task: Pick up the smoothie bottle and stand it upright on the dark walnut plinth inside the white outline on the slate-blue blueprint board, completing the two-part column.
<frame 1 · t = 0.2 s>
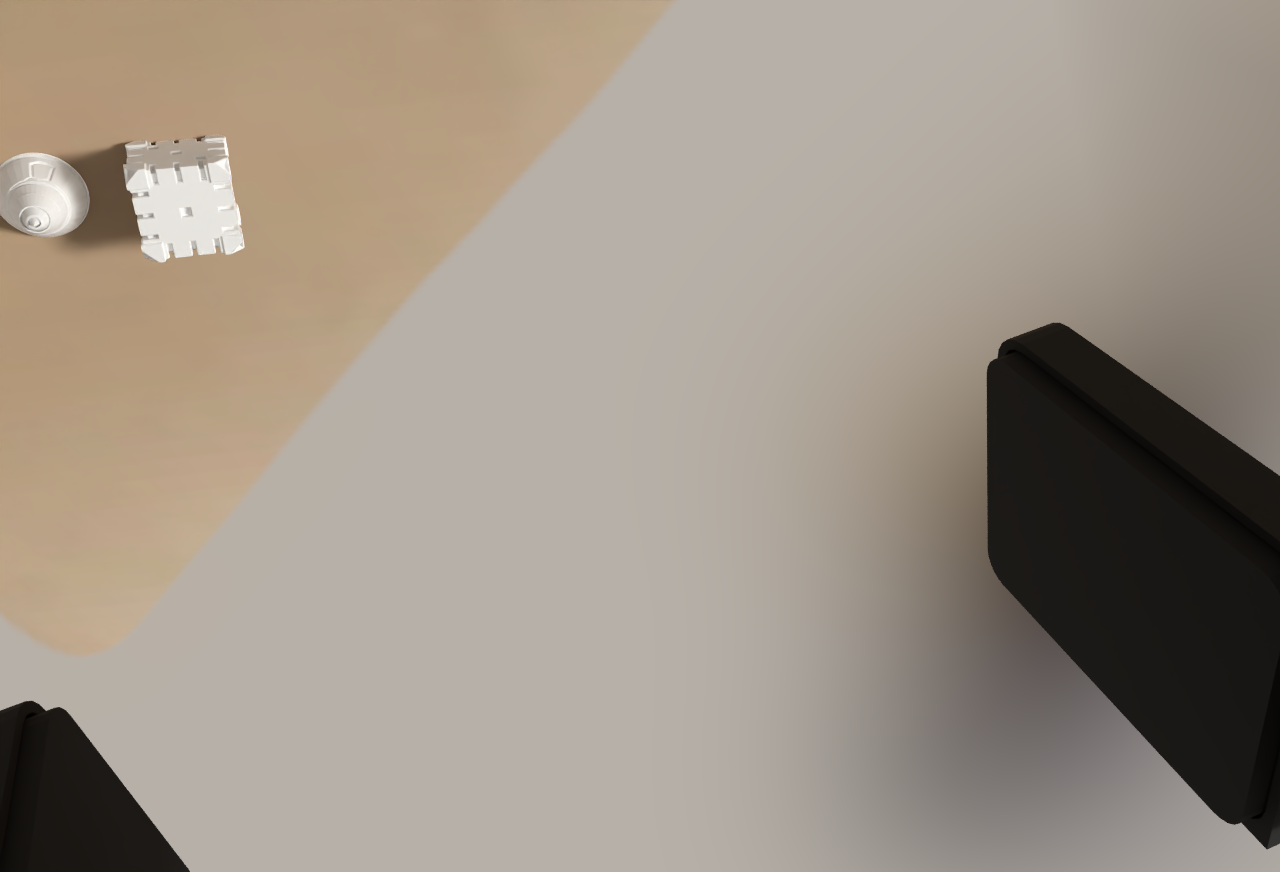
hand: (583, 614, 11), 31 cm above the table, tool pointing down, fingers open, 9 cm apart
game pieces: (42, 191, 37), on the table
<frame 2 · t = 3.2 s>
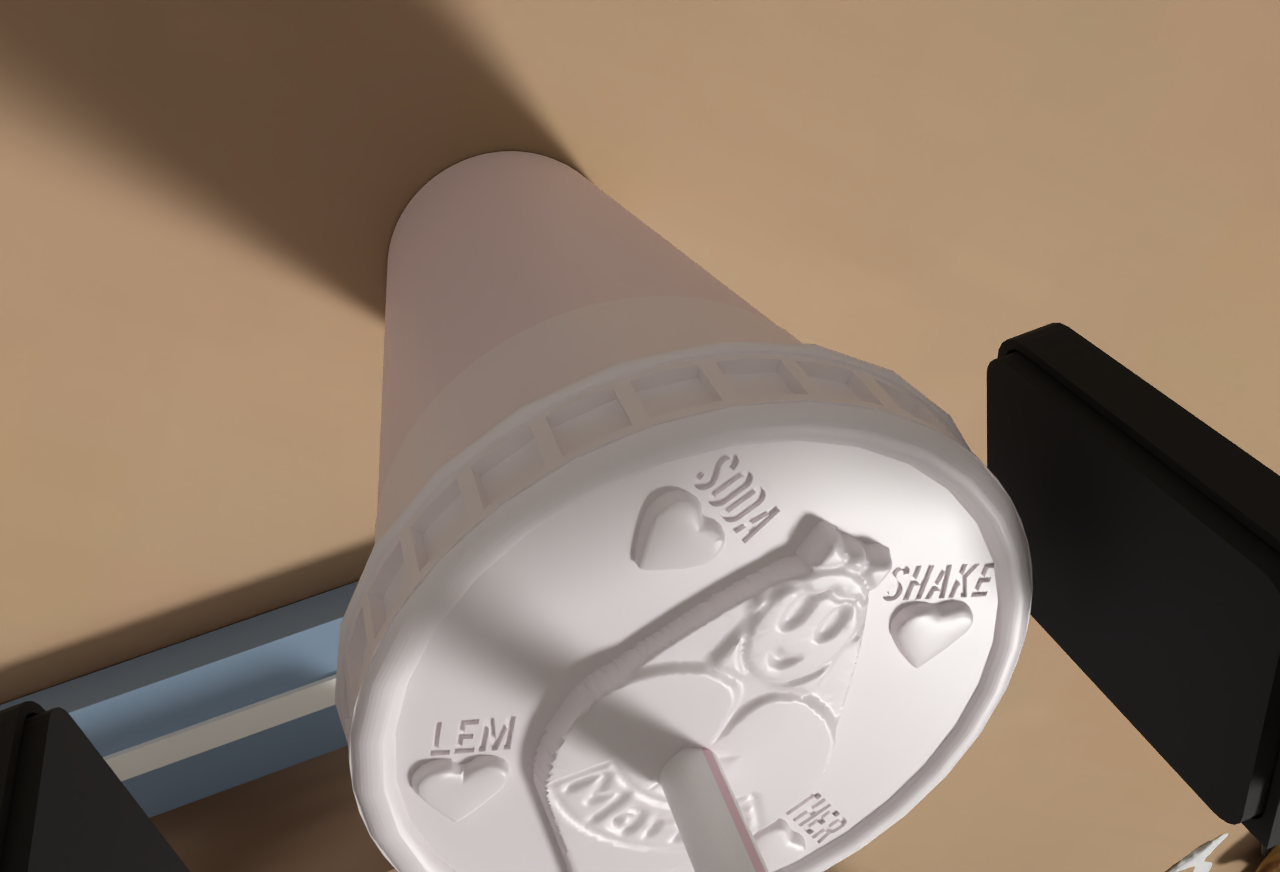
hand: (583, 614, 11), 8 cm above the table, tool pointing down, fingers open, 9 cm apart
smoothie: (504, 260, 18), on the table
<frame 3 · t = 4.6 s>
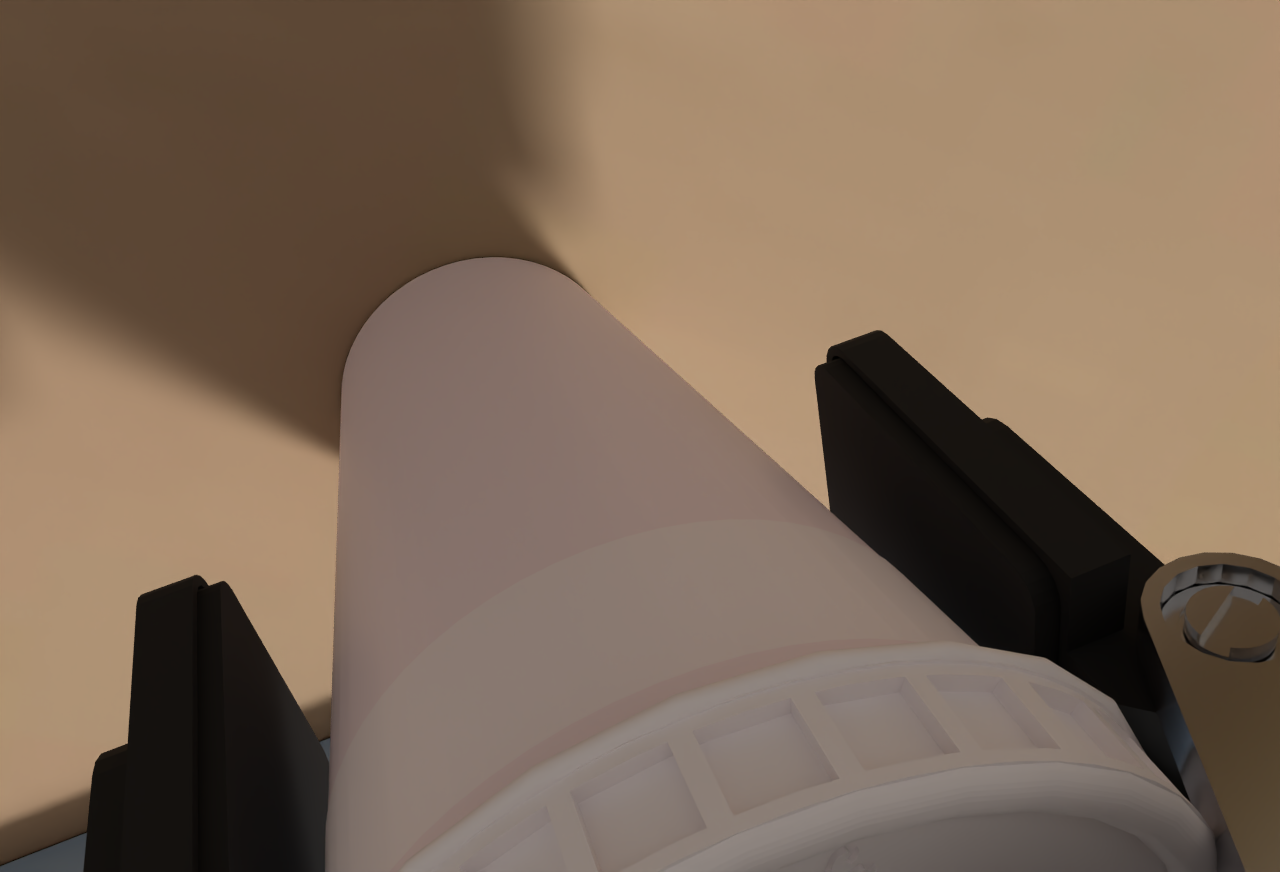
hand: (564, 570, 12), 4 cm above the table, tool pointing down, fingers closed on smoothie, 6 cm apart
smoothie: (482, 379, 15), on the table, touching gripper
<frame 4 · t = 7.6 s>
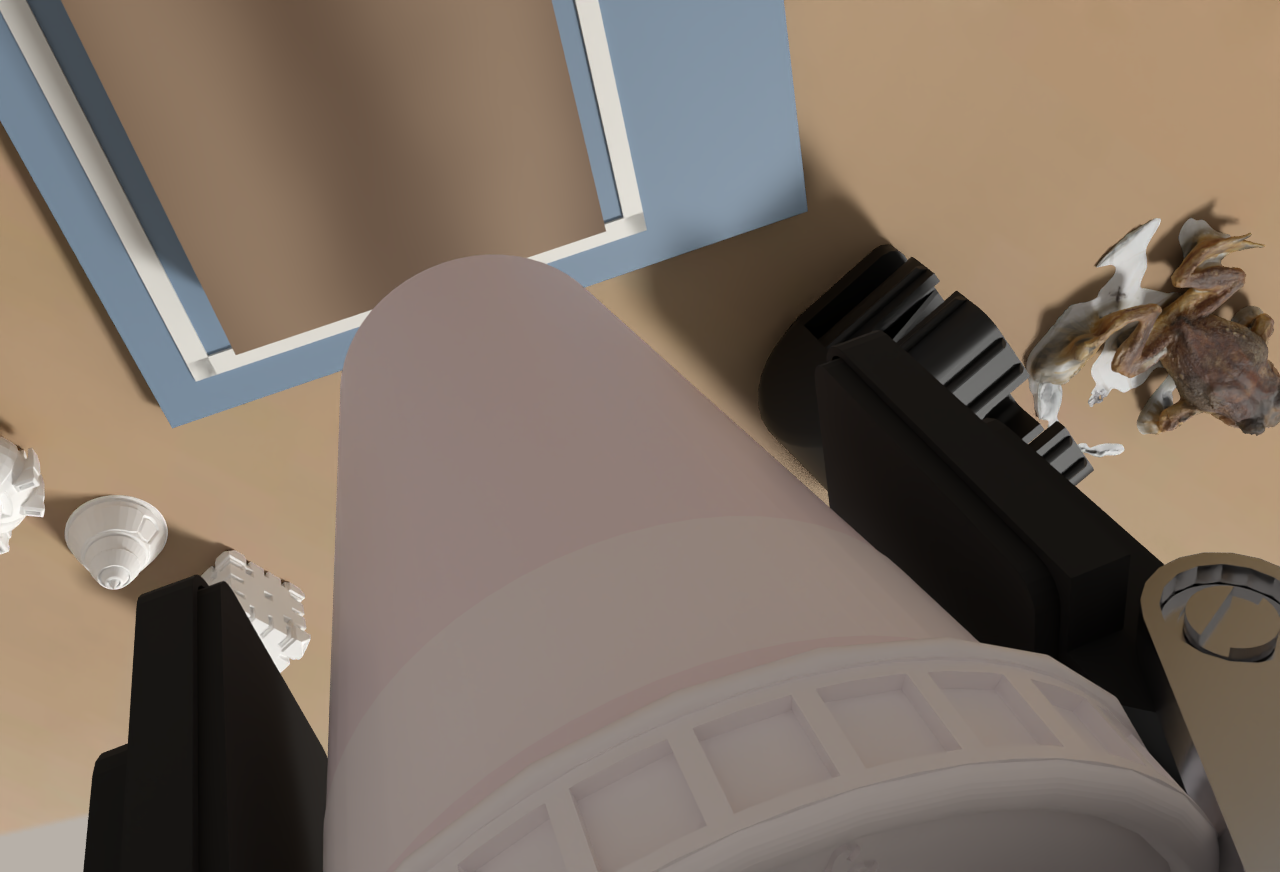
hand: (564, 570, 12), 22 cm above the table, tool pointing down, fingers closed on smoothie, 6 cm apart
smoothie: (481, 377, 15), point 18 cm above the table, touching gripper
frog figurine: (1157, 326, 45), on the table
plinth: (342, 64, 29), resting on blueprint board
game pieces: (117, 524, 34), on the table
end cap: (866, 380, 41), on the table
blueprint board: (416, 42, 29), on the table
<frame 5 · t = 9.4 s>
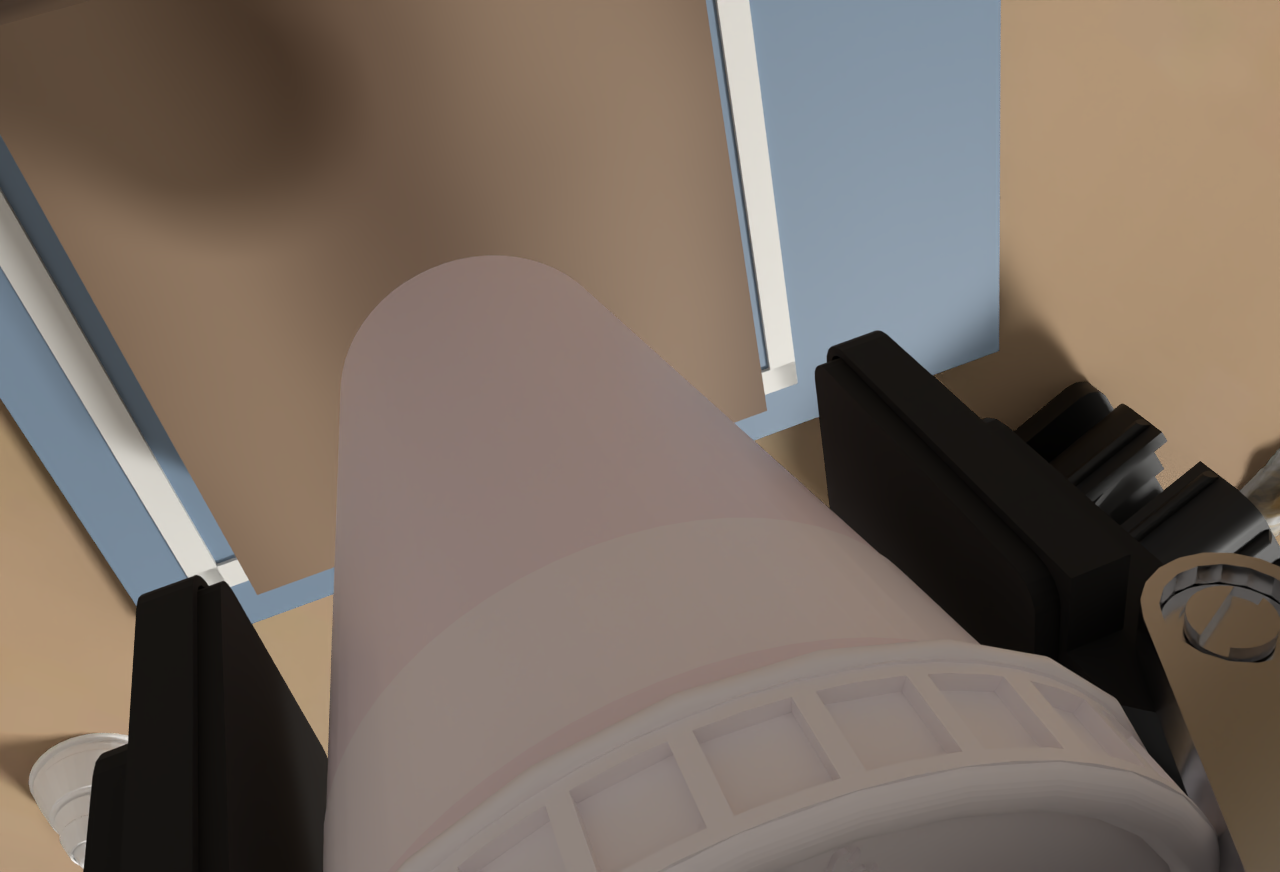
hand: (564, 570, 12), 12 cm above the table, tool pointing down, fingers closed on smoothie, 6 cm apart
smoothie: (482, 378, 15), point 8 cm above the table, touching gripper
plinth: (407, 182, 21), resting on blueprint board
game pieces: (99, 762, 26), on the table
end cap: (1036, 538, 33), on the table
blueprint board: (509, 150, 21), on the table
when the fingers open (9 cm above the table, at t = 10.9 s): smoothie drops 1 cm, resting on plinth.
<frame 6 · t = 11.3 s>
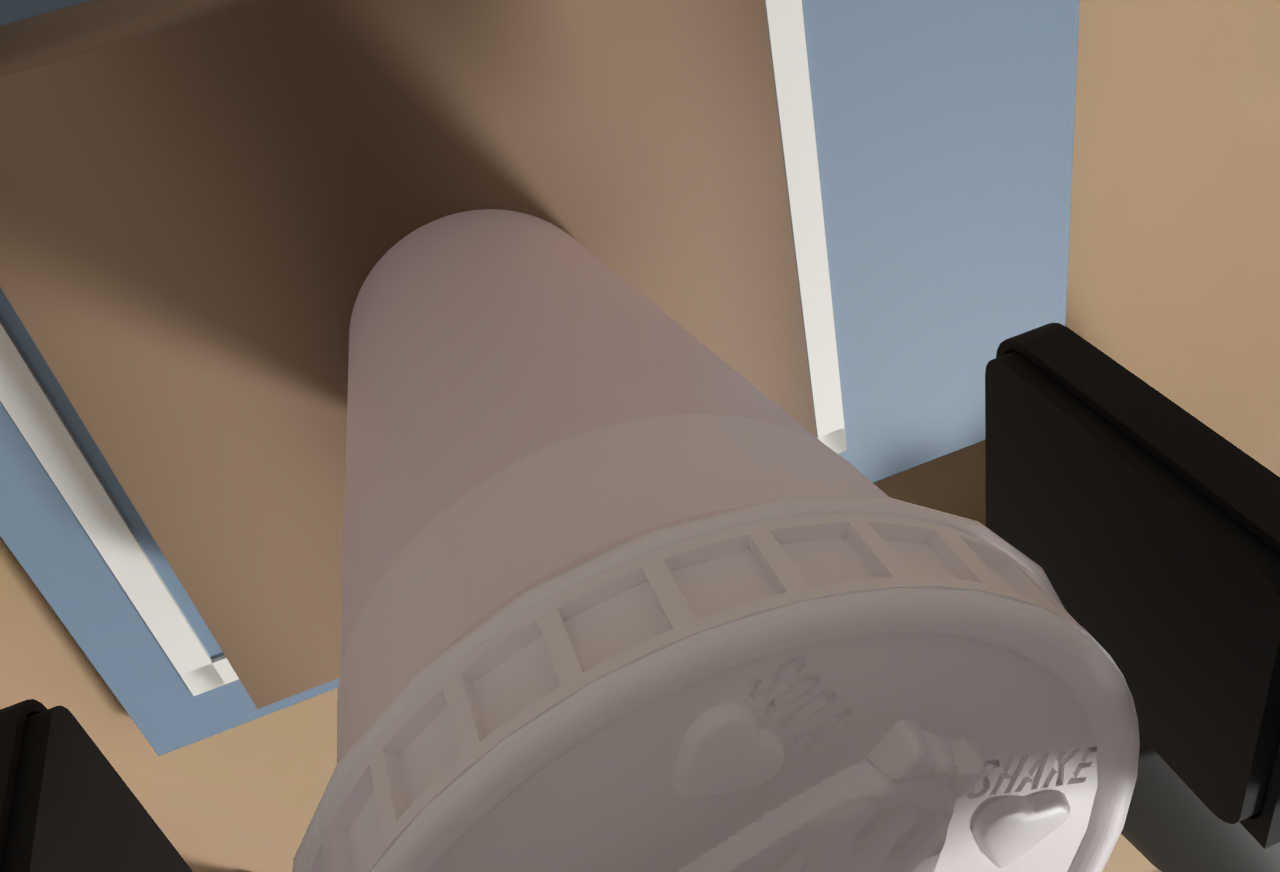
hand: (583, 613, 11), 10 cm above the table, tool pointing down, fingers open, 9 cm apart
smoothie: (481, 328, 16), point 4 cm above the table, touching plinth
plinth: (423, 243, 19), resting on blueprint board
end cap: (1089, 599, 30), on the table
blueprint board: (536, 206, 19), on the table
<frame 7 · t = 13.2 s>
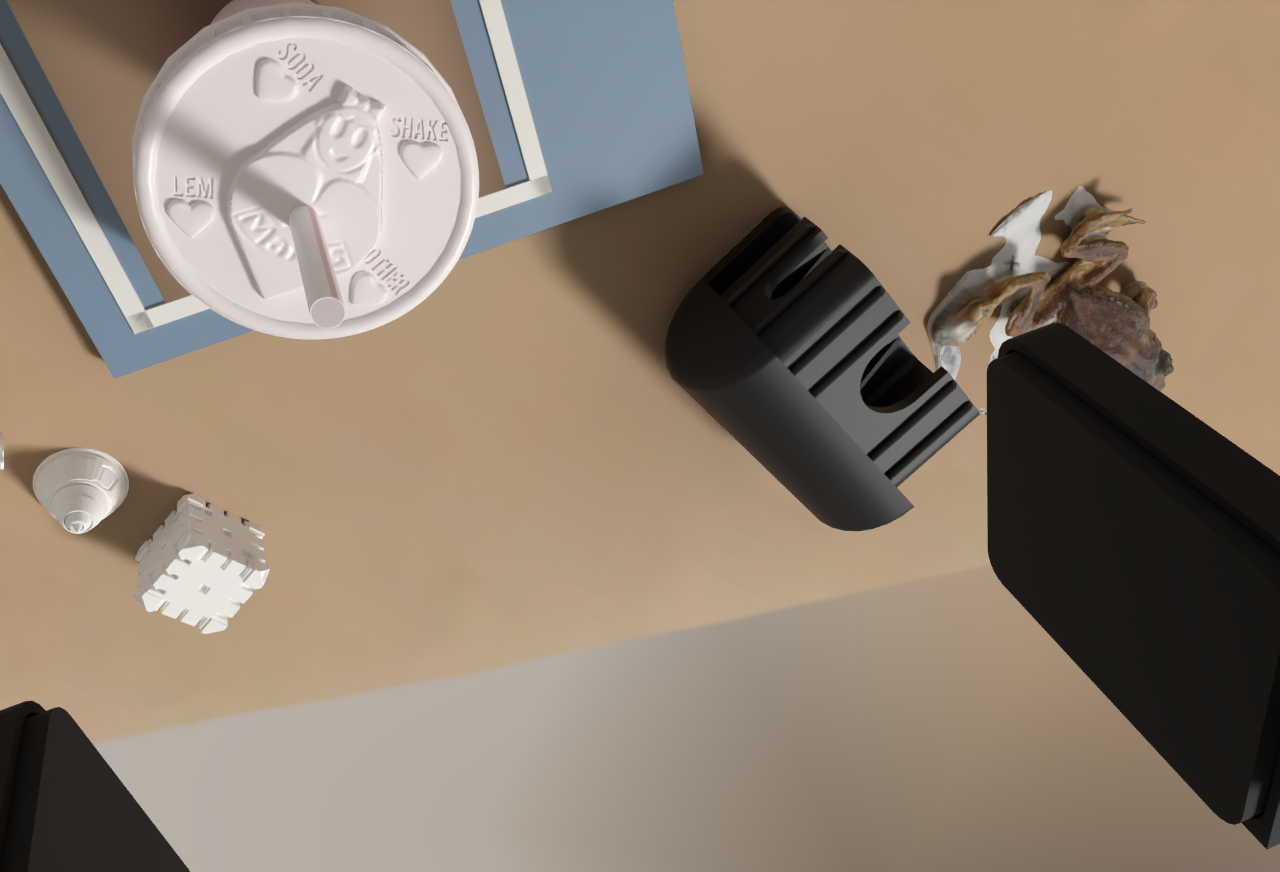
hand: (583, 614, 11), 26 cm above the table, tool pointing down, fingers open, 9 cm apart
smoothie: (278, 63, 29), point 4 cm above the table, touching plinth
frog figurine: (1051, 297, 48), on the table
plinth: (261, 39, 32), resting on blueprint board
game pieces: (82, 477, 37), on the table
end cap: (773, 337, 43), on the table
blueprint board: (329, 18, 32), on the table
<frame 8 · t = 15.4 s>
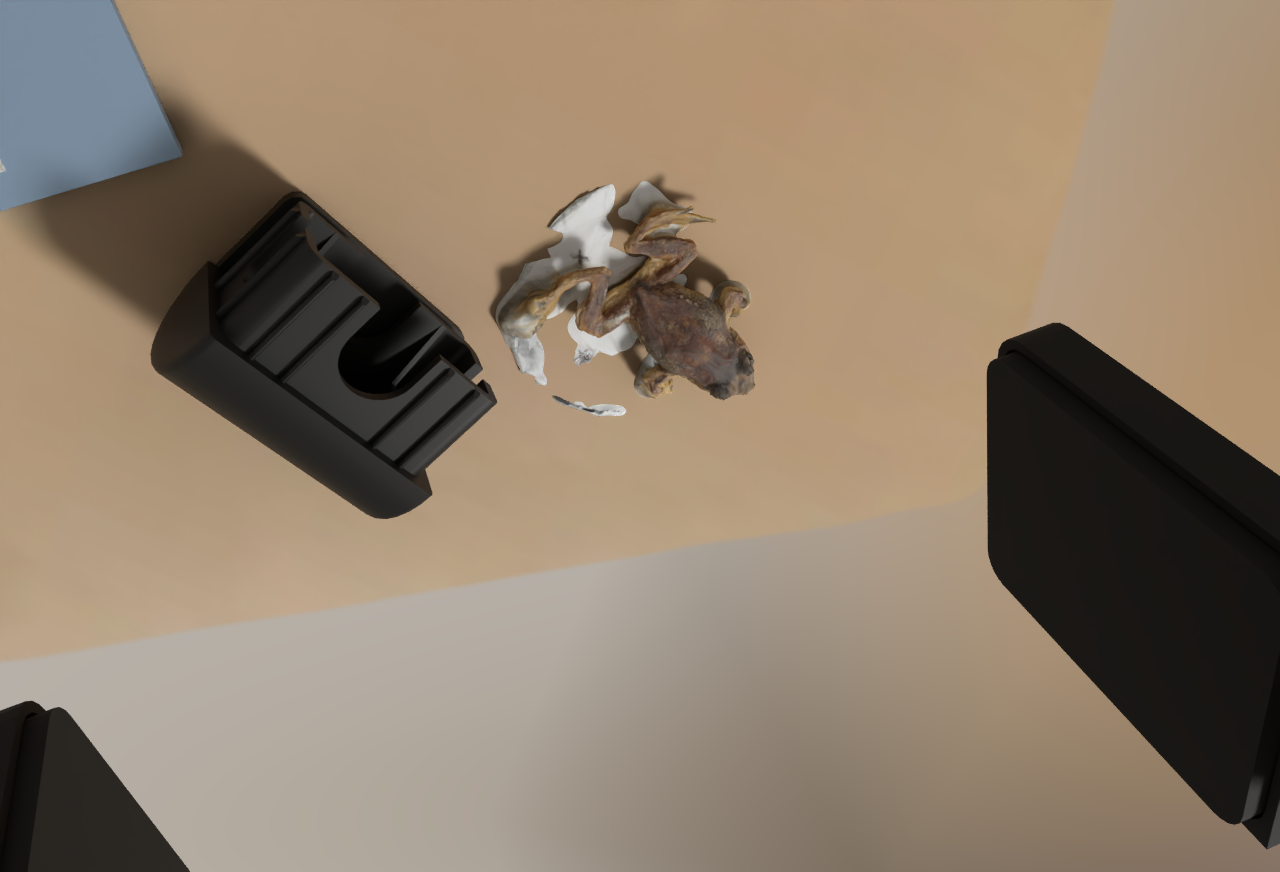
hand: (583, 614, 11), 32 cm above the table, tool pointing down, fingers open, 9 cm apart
frog figurine: (643, 294, 48), on the table
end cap: (321, 323, 43), on the table
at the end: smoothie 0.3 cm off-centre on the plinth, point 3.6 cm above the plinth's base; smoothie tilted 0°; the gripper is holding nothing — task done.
